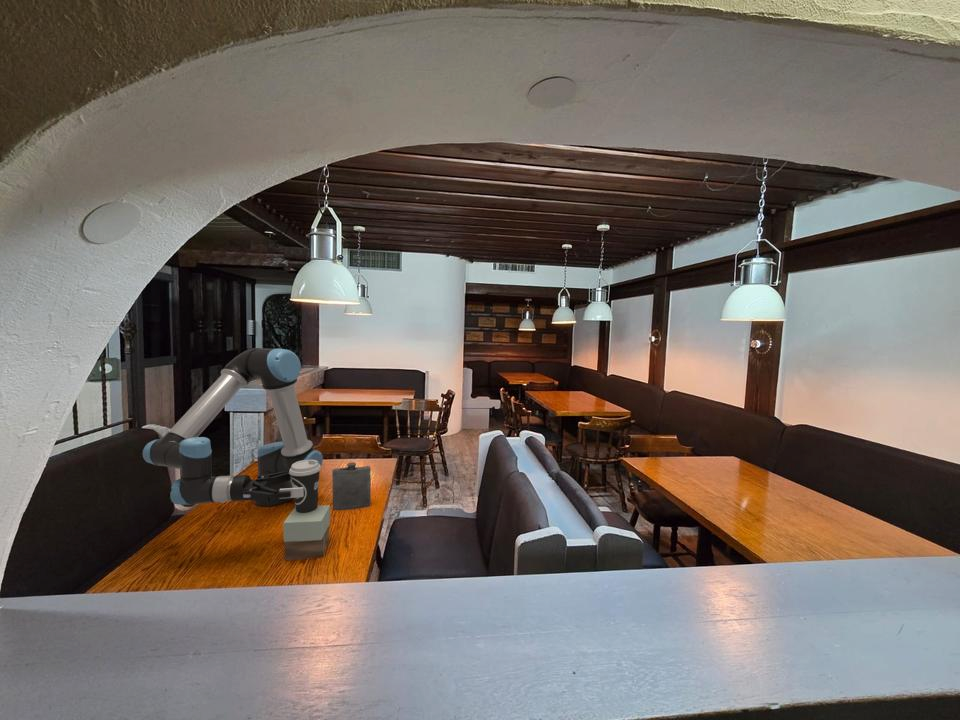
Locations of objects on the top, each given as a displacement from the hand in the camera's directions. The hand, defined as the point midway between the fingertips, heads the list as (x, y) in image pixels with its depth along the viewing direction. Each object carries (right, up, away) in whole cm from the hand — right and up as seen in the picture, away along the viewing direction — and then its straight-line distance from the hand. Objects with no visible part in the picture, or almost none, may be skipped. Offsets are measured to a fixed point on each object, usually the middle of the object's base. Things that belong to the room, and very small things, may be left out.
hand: (308, 483), depth 124 cm
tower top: (0, -16, +1) cm, 16 cm away
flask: (+4, -20, +31) cm, 37 cm away
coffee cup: (-2, -10, +4) cm, 11 cm away
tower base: (-1, -22, +1) cm, 22 cm away
